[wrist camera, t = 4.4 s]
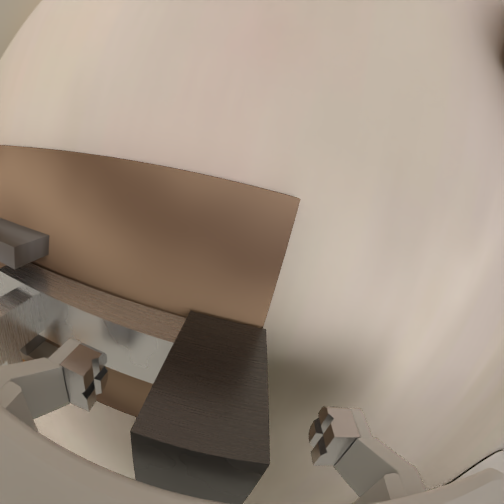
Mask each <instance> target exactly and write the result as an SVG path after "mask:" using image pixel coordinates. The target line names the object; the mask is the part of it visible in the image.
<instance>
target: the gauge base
mask: <svg viewBox="0 0 504 504" xmlns="http://www.w3.org/2000/svg"><path fill="white" fill-rule="evenodd" d="M299 202H300V199H299V198H297V197H293V196H290V195H286V194H282V193H278V192H275V191H271V190H267V189H263V188H259V187H255V186H251V185H247V184H243V183H239V182H235V181H231V180H226V179H222V178H218V177H213V176H209V175H204V174H200V173H195V172H190V171H185V170H181V169H176V168H170V167H165V166H160V165H155V164H149V163H144V162H138V161H132V160H126V159H120V158H114V157H107V156H100V155H93V154H86V153H78V152H70V151H62V150H53V149H43V148H32V147H20V146H5V145H0V268H2V267H4V266H6V265H7V266H9V267H11V268H13V269H17V268H19V267H21V266H23V265H26V264H28V263H32V264H34V265H37V266H39V267H41V268H44V269H46V270H48V271H51V272H53V273H56V274H58V275H61V276H63V277H66V278H68V279H71V280H73V281H76V282H78V283H81V284H84V285H86V286H89V287H92V288H95V289H97V290H100V291H103V292H106V293H108V294H111V295H114V296H117V297H120V298H123V299H126V300H129V301H132V302H135V303H138V304H141V305H144V306H148V307H151V308H154V309H157V310H161V311H164V312H167V313H171V314H174V315H178V316H181V317H185V318H187V316H188V314H189V312H190V311H194V312H198V313H201V314H205V315H209V316H213V317H217V318H220V319H224V320H228V321H232V322H237V323H241V324H245V325H249V326H254V327H258V328H262V329H263V326H264V322H265V319H266V316H267V313H268V309H269V306H270V303H271V300H272V296H273V293H274V290H275V286H276V283H277V280H278V276H279V273H280V270H281V266H282V263H283V259H284V256H285V252H286V249H287V245H288V242H289V238H290V235H291V231H292V228H293V224H294V221H295V217H296V213H297V210H298V206H299ZM60 347H61V346H60V345H58V344H56V343H54V342H52V341H50V340H49V339H47V338H45V337H43V336H41V335H39V334H38V335H37V336H36V337H34V338H33V339H32V340H31V341H30V342H28V343H27V344H26V345H25V346H23V347H22V348H21V349H20V352H21V356H22V359H24V360H25V361H29V360H34V359H39V358H44V357H45V358H47V359H48V358H49V357H50V356H51V355H52V354H53V353H54V352H55V351H56V350H58V349H59V348H60ZM105 367H106V366H105ZM106 369H107V370H108V380H107V384H106V386H105V389H104V390H103V392H102V393H100V394H97V395H96V399H97V401H98V402H100V403H103V404H105V405H107V406H110V407H112V408H114V409H117V410H119V411H122V412H124V413H127V414H130V415H132V416H135V417H137V416H138V414H139V412H140V410H141V408H142V406H143V404H144V402H145V400H146V398H147V396H148V394H149V392H150V390H151V387H152V385H153V384H152V383H149V382H146V381H143V380H140V379H137V378H135V377H132V376H129V375H126V374H124V373H121V372H119V371H116V370H113V369H111V368H108V367H106Z"/></svg>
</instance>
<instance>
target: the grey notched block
mask: <svg viewBox="0 0 504 504" xmlns="http://www.w3.org/2000/svg"><path fill="white" fill-rule="evenodd" d="M38 334H39V335H41V336H43V337H45V338H47V339H49V340H50V341H52V342H54V343H56V344H58V345H60V346H62V345H63V344H64V343H65V342H66V341H67V340H68V339H70V338H74V339H76V340H78V341H80V342H82V343H84V344H87V345H89V346H91V347H93V348H95V349H97V350H100V351H102V352H104V353H105V354H107V363H106V364H105V366H106V367H108V368H111V369H113V370H116V371H119V372H121V373H124V374H126V375H129V376H132V377H135V378H137V379H140V380H143V381H146V382H149V383H152V384H153V385H152V387H151V390H150V392H149V394H148V396H147V398H146V400H145V402H144V404H143V406H142V408H141V410H140V412H139V414H138V416H137V418H136V421H135V423H134V425H133V427H132V429H131V431H130V432H131V444H132V454H133V463H134V470H135V478H136V480H137V481H139V482H142V483H145V484H148V485H151V486H155V487H158V488H161V489H165V490H168V491H172V492H175V493H179V494H183V495H187V496H192V497H196V498H201V499H206V500H211V501H217V502H223V503H229V504H243V502H244V501H245V500H246V498H247V497H248V495H249V494H250V493H251V491H252V490H253V488H254V487H255V485H256V484H257V483H258V481H259V480H260V478H261V477H262V475H263V474H264V472H265V471H266V469H267V468H268V466H269V464H270V453H269V411H268V375H267V344H266V329H262V328H258V327H254V326H249V325H245V324H241V323H237V322H232V321H228V320H224V319H220V318H217V317H213V316H209V315H205V314H201V313H198V312H194V311H190V312H189V314H188V316H187V318H185V317H181V316H178V315H174V314H171V313H167V312H164V311H161V310H157V309H154V308H151V307H148V306H144V305H141V304H138V303H135V302H132V301H129V300H126V299H123V298H120V297H117V296H114V295H111V294H108V293H106V292H103V291H100V290H97V289H95V288H92V287H89V286H86V285H84V284H81V283H78V282H76V281H73V280H71V279H68V278H66V277H63V276H61V275H58V274H56V273H53V272H51V271H48V270H46V269H44V268H41V267H39V266H37V265H34V264H32V263H28V264H26V265H23V266H21V267H19V268H17V269H13V268H11V267H9V266H7V265H6V266H4V267H2V268H0V366H3V365H8V364H14V363H19V362H23V360H22V356H21V352H20V349H21V348H22V347H23V346H25V345H26V344H27V343H28V342H30V341H31V340H32V339H33V338H34V337H36V336H37V335H38Z"/></svg>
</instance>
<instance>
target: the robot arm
mask: <svg viewBox="0 0 504 504" xmlns="http://www.w3.org/2000/svg"><path fill="white" fill-rule="evenodd" d="M106 363H107V354H105V353H104V352H102V351H100V350H97V349H95V348H93V347H91V346H89V345H87V344H84V343H82V342H80V341H78V340H76V339H74V338H70V339H68V340H67V341H66V342H65V343H64V344H63V345H62V346H61V347H60V348H59V349H58V350H56V351H55V352H54V353H53V354H52V355H51V356H50V357H49V358H48V359H47V358H45V357H44V358H39V359H34V360H29V361H24V362H19V363H14V364H8V365H3V366H0V504H229V503H223V502H217V501H211V500H206V499H201V498H196V497H192V496H187V495H183V494H179V493H175V492H172V491H168V490H165V489H161V488H158V487H155V486H151V485H148V484H145V483H142V482H139V481H137V480H134V479H131V478H128V477H126V476H123V475H121V474H118V473H116V472H113V471H111V470H108V469H106V468H104V467H102V466H99V465H97V464H95V463H93V462H91V461H89V460H87V459H85V458H83V457H81V456H79V455H77V454H75V453H73V452H71V451H69V450H67V449H66V448H64V447H62V446H60V445H58V444H57V443H55V442H53V441H52V440H50V439H48V438H47V437H45V436H44V435H42V434H40V433H39V432H38V429H37V427H36V425H35V422H34V420H33V419H35V418H38V417H40V416H42V415H45V414H47V413H49V412H52V411H54V410H56V409H59V408H61V407H63V406H66V405H68V404H69V402H70V403H72V404H74V405H76V406H78V407H80V408H82V409H84V410H87V411H90V409H91V408H92V407H93V405H94V404H95V402H96V401H97V399H96V395H97V394H100V393H102V392H103V390H104V389H105V386H106V384H107V380H108V370H107V369H106V367H105V364H106ZM318 414H319V418H318V419H316V420H314V421H313V423H312V425H311V427H310V431H309V443H310V444H311V445H312V446H313V447H314V448H313V450H312V451H311V456H312V462H313V465H318V466H334V468H335V469H336V470H337V472H338V473H339V474H340V475H341V476H342V477H343V479H344V480H345V481H346V482H347V483H348V484H349V486H350V487H351V488H352V489H353V490H354V491H355V492H356V494H357V495H358V496H359V497H360V498H358V499H357V500H356V501H355V502H353V503H352V504H504V451H499V452H497V453H495V454H493V455H492V456H490V457H488V458H487V459H485V460H484V461H482V462H481V463H479V464H478V465H476V466H475V467H473V468H472V469H470V470H469V471H467V472H466V473H465V474H463V475H462V476H460V477H459V478H458V479H456V480H455V481H453V482H452V483H450V484H447V485H444V486H441V487H438V488H434V489H431V490H428V491H426V489H425V486H424V484H423V481H422V479H421V477H420V475H419V472H418V470H417V468H416V467H414V466H413V465H412V464H410V463H409V462H407V461H406V460H405V459H403V458H402V457H401V456H400V455H398V454H397V453H396V452H394V451H393V450H392V449H390V448H389V447H388V446H386V445H385V444H384V443H383V442H381V441H380V440H379V439H378V438H373V436H372V433H371V431H370V428H369V426H368V423H367V421H366V418H365V416H364V413H363V411H362V409H360V408H342V407H328V406H323V407H322V408H321V409H320V411H319V413H318Z"/></svg>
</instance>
